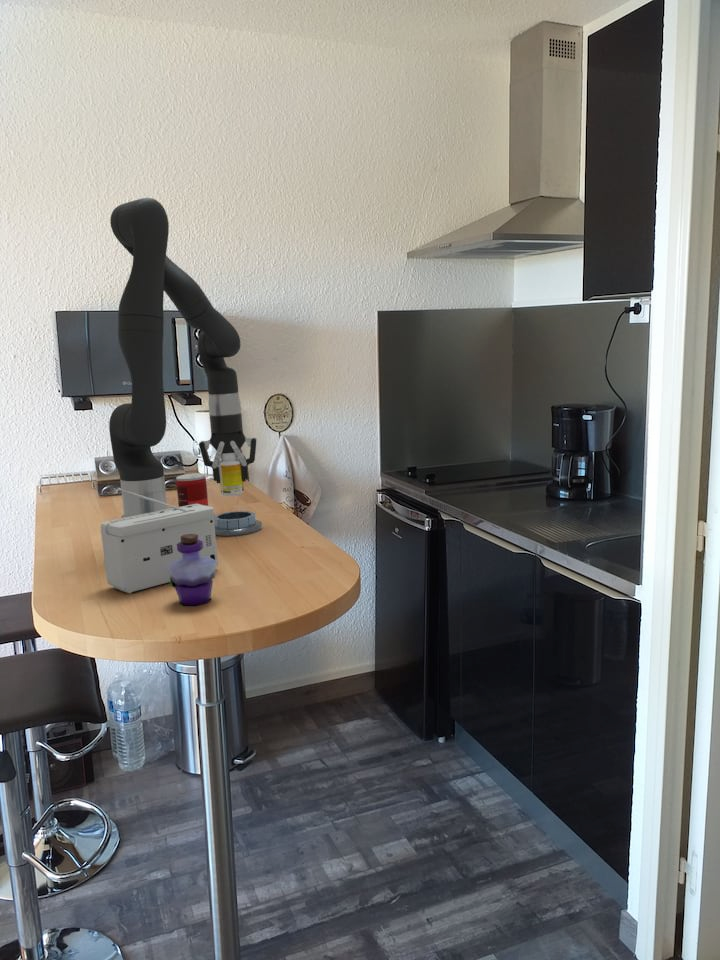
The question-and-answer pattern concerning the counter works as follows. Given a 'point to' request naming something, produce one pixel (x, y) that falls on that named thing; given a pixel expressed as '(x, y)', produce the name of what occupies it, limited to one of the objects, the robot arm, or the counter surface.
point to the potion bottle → (192, 572)
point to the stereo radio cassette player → (153, 544)
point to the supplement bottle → (230, 475)
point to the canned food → (192, 489)
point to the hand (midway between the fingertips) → (231, 481)
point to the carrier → (236, 523)
